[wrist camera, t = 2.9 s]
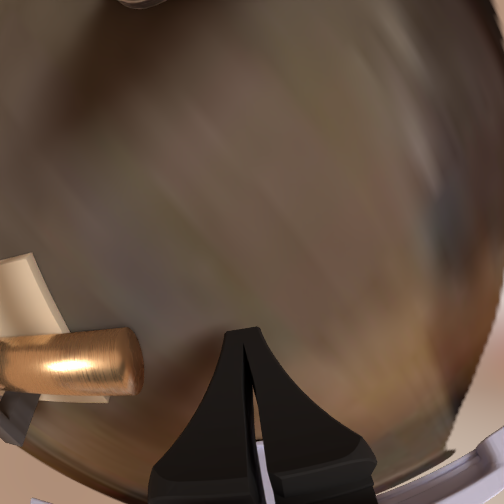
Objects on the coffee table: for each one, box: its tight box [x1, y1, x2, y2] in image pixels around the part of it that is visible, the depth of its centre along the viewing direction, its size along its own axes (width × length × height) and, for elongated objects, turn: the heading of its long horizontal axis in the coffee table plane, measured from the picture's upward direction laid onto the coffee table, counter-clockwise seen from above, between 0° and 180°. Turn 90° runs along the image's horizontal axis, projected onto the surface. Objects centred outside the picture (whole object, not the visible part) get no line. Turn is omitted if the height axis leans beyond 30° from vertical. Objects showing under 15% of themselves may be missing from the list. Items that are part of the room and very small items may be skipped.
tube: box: [0, 327, 144, 396], centre depth 12 cm, size 14×3×3 cm, turn 97°
